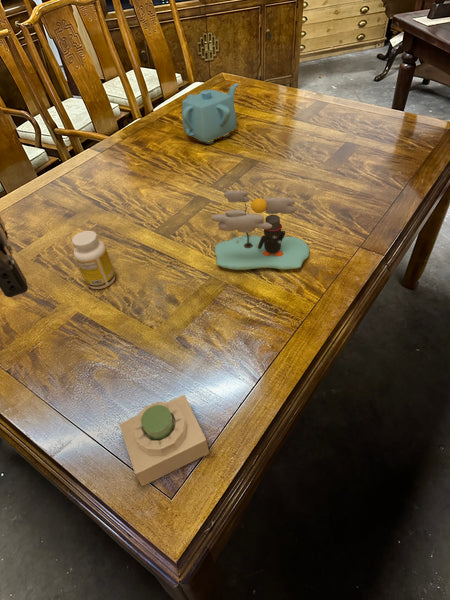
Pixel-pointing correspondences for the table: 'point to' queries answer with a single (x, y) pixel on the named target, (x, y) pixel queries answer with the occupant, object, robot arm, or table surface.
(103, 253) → the pill bottle
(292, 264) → the penguin figurine
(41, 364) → the table surface
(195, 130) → the teapot
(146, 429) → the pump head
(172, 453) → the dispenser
